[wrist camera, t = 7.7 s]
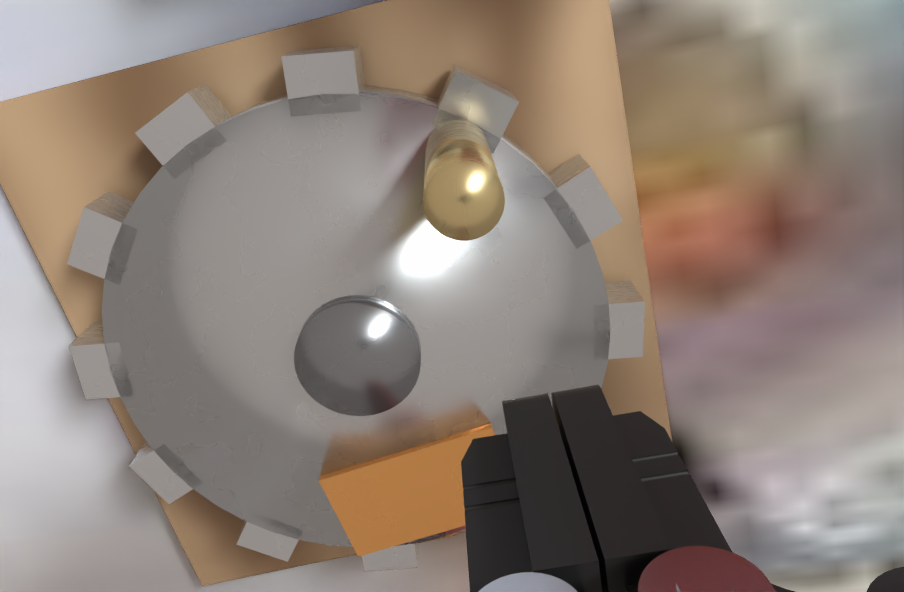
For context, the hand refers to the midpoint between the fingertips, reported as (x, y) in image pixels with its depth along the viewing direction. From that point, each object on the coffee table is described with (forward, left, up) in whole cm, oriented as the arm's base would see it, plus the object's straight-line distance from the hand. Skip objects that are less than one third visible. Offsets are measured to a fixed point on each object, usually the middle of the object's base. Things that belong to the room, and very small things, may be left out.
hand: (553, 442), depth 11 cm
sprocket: (+6, +4, -17) cm, 18 cm away
